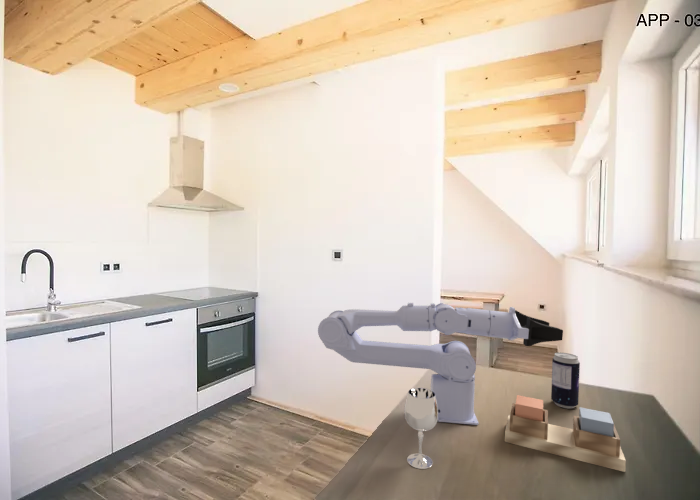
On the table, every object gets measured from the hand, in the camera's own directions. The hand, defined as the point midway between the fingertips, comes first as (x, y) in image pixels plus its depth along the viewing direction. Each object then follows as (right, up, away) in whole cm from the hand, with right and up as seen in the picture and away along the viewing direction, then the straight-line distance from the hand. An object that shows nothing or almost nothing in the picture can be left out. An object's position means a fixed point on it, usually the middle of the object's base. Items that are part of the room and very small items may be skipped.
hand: (555, 330), depth 78 cm
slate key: (+2, -16, -10) cm, 19 cm away
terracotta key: (-8, -16, -5) cm, 19 cm away
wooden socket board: (-3, -20, -8) cm, 22 cm away
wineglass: (-31, -20, -14) cm, 40 cm away
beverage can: (+8, -21, +11) cm, 25 cm away
